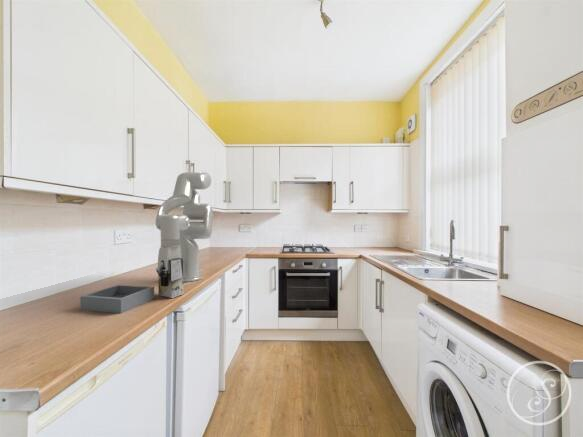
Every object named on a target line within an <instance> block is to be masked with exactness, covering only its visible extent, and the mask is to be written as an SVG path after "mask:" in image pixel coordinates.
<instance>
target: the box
mask: <svg viewBox="0 0 583 437" xmlns="http://www.w3.org/2000/svg"><path fill="white" fill-rule="evenodd" d="M154 299H155V286H146V285H132V284H131V285H130V284H116V285H112V286H109V287H106V288H102V289H100V290H97V291H96V290H95V291H93V292H90V293H86V294H83V295H80V297H79V303H80V305H79V306H80V308H79V310H81V311H90V312H91V311H92V312H103V313H115V314H123V313H125V312H127V311H129V310H132V309H133V308H137V307H138V306H141V305H143V304H145V303H147V302H150V301H152V300H154Z"/></svg>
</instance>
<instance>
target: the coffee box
mask: <svg viewBox="0 0 583 437" xmlns="http://www.w3.org/2000/svg"><path fill="white" fill-rule="evenodd" d="M164 269H166V268H164ZM164 274H165V271H164ZM157 275H158V274H157ZM167 277H168V286H161V278H160V277H159V275H158V278H157V279H158V284H157V285H158V296H160V297H165V298H169V299H173V298H176V297H179V296H183V295H184V291H185V290H184V282H183V258H176V259H172V260H169V270H168V274H167Z"/></svg>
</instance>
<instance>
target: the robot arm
mask: <svg viewBox="0 0 583 437" xmlns="http://www.w3.org/2000/svg"><path fill="white" fill-rule="evenodd" d="M211 184H212V178H211V175H210V173H208V172H194V171H193V172H190V171H189V172H188V171H187V172H182V173H180V174H179V175H178V176H177V177H176V181H175V185H174V189H173V193H172V196H170V197H169V198H167V199H166V200H164V201H163V202H162V204H160V205H159V207H158V210H157V214H156V217H155V227H156V229H158V230H159V231H160V247H159V249H158V255H157V267H156V268H155V271H156V273H157V275H159V277H160V278H161V286H168V277H167V274H168V270H169V260H172V259H176V258H183V283H187V282H189V283H191V282H196V281H199V280H201V279H202V278H203V276H202V275H201V274H200V273H202V272H203V269H202V268H199V264H200V263H199V259H200V258H199V245H198V243H197V242H196V240H206V239H209V238H211V237H212V236H211V235H212V231H213V216H214V212H213V207H212V205H210V204H209V203H201V196H200V194H199V192H198V191H197V190H206V189H208V188H209V187H211ZM181 207H183V208H182V214H178V213H177V214H175V213H174V214H172V213H170V212H172V211H173V210H175V209H178V208H181ZM169 213H170V214H169ZM164 268H166V269H164ZM164 271H165V274H164Z"/></svg>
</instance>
